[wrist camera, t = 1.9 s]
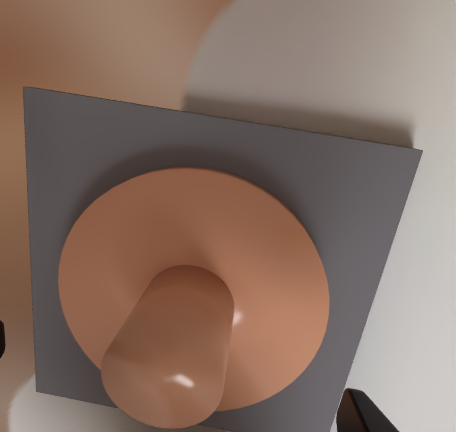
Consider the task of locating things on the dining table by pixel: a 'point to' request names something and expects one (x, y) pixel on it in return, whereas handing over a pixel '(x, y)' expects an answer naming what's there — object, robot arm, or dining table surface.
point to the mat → (236, 164)
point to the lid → (192, 294)
